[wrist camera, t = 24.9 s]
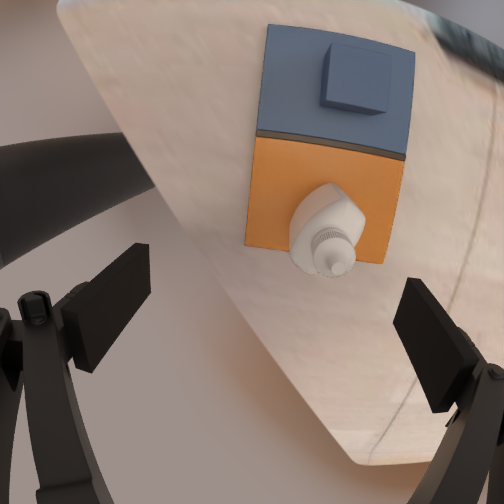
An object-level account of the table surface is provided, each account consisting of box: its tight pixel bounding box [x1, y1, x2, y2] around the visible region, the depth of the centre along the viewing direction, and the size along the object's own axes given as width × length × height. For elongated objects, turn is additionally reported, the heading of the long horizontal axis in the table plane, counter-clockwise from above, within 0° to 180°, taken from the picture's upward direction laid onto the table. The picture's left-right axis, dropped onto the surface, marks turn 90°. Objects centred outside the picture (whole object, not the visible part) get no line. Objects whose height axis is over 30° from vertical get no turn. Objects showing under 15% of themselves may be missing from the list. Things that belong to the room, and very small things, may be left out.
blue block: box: [319, 43, 392, 116], centre depth 20 cm, size 4×4×4 cm
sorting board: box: [245, 24, 415, 264], centre depth 25 cm, size 13×20×1 cm, turn 174°
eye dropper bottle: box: [289, 183, 365, 278], centre depth 21 cm, size 4×6×12 cm
